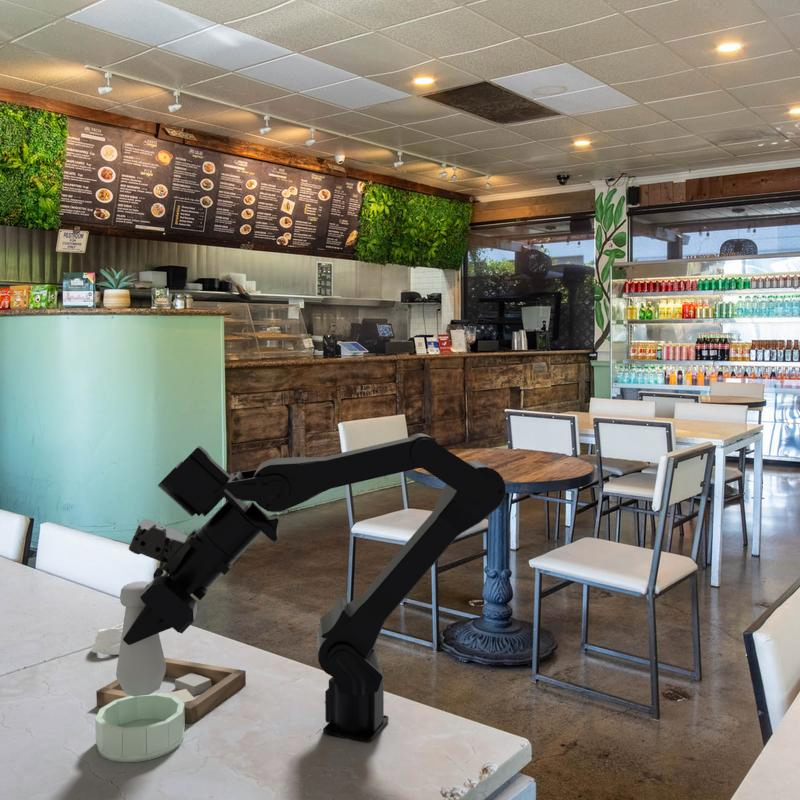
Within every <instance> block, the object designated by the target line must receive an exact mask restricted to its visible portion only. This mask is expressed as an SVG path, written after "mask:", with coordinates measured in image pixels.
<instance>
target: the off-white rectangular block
mask: <svg viewBox="0 0 800 800" xmlns="http://www.w3.org/2000/svg"><path fill="white" fill-rule="evenodd" d="M174 686H175V689H176V690H177V691H179V690H183V689H187V690H188V692H189V693H190V694H191V695H192V696H196V695H199V694H202V693H204V692H206V691H207V690H208V689H210V688H211V687H212V683H211V679H209V678H206V677H203V676H200V675H197V674H194V673H190V674H188V675H185V676H183V677H180V678H179V677H177V678H175V679H174Z"/></svg>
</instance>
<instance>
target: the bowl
mask: <svg viewBox="0 0 800 800" xmlns="http://www.w3.org/2000/svg"><path fill="white" fill-rule="evenodd" d="M94 722H95V744H96V746H97V753H98V754H99V755H100V756H101V757H102V758H104V759H106V760H109V761H112V762H116V763H117V762H118V763H138V762H145V761H150V760H154V759H157V758H160V757H162V756H165V755H167V754H169V753H171V752H173V751H174V750H176V749H177V748H178V747H180V745H181V744H182V743H183V742H184V739H185V727H186V725H185V724H186V723H185V709H184V702H182V701H181V700H180V699H178V698H177V697H176V696H172V695H167V694H166V693H160V692H153V693H151V694H150V695H142V696H134V697H133V696H128V697H124V698H121V699H117V700H114V701H113V702H111V703H109V704H108V705H106V706H104V707H101V708H99V710H98V713H97V714H96V717H95V721H94Z"/></svg>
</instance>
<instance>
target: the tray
mask: <svg viewBox="0 0 800 800" xmlns="http://www.w3.org/2000/svg"><path fill="white" fill-rule="evenodd" d="M164 658H165V662H166V673H165V676H168V677H172V678H173V677H174V678H180V677H183V676H185V675H188V674H190V673H194V674H197V675H200V676H203V677H206V678H209V679H211V684H213V686H211V688H210V689H208V690H205V691H203V692H202V693H200V695H198V696H197V697H194V698H195V699H194V700H192V701H191V702H189V703H186V702H184V709H185V724H191V725H193V724H194V723H195V722H196V721H197V720H198V721H199V720H200V718H202V717H204V716H205V715H206V714H207V713H209V712H210V711H211V710H213V709H214V708H216V707H218V706H219V705H221V703H223V702H224V701H225V700H227V699H228V698H229V697H230V696H232V695H233V694H235V693H236V692H238V691H239V690H240V689H242V688H243V687H244V686H246V684H247V682H246V681H247V680H246V679H247V677H246V676H247V675H246V670H243V669H237V668H230V667H226V666H218V665H212V664H207V663H201V662H200V663H199V662H195V661H194V662H193V661H187V660H181V659H175V658H169V657H164ZM128 696H131V695H128V694H126V693H124V692H123V690H122V688H121V686H120V684H119V682H118V680H117V679H115V680H114V681H112V682H110V683H108V684H107V685H105V686H103V687H102V688H100V689H97V690H96V706H97V707H101V708H102V707H104V706H106V705H108V704H109V703H111V702H113V701H114V700H117V699H121V698H124V697H128Z"/></svg>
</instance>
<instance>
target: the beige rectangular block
mask: <svg viewBox="0 0 800 800" xmlns="http://www.w3.org/2000/svg"><path fill="white" fill-rule="evenodd" d="M165 694H167V695H172V696H176V697H177V698H178V699H180V700H181V701H182V702H186V703H189V702H191V701H192V700H194V699H195V698H196V697H194V695H192V694H190V693H189V692H188V690H187V689H183V690H175V691H170V692H167V693H165Z"/></svg>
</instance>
